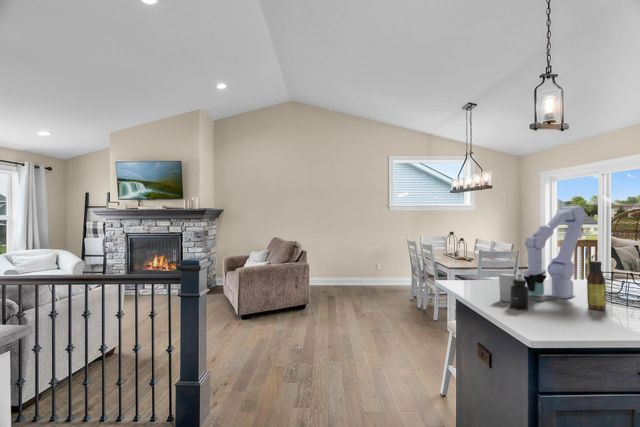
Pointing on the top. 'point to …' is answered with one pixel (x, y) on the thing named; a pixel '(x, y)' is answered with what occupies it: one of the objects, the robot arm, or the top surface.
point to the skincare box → (505, 286)
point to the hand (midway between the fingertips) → (534, 290)
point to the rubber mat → (540, 298)
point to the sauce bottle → (596, 287)
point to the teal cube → (538, 289)
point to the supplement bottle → (519, 294)
